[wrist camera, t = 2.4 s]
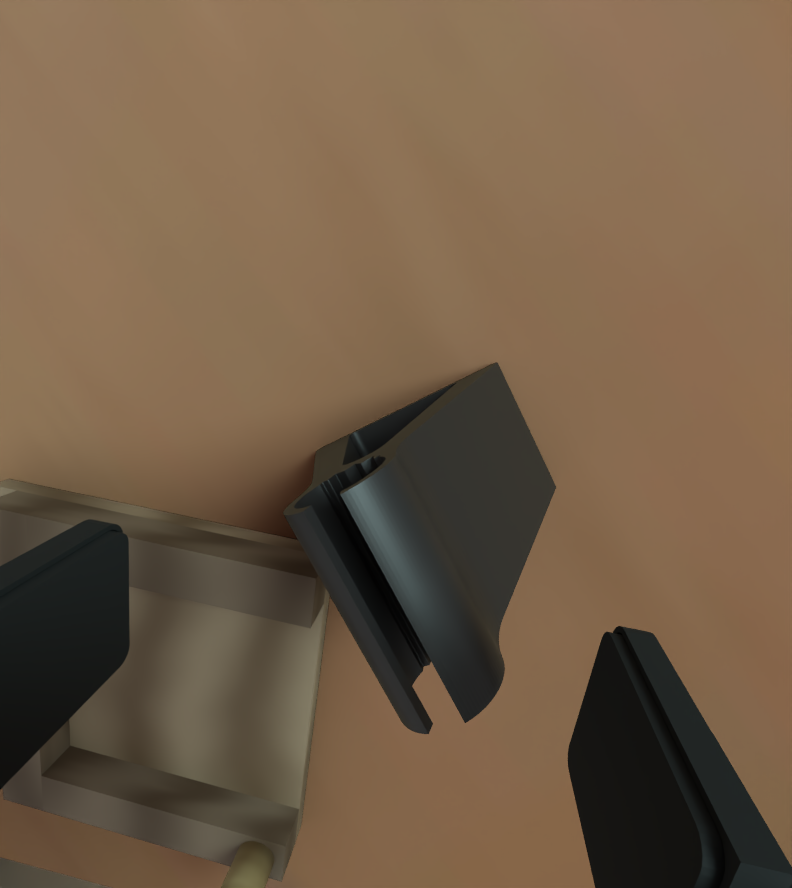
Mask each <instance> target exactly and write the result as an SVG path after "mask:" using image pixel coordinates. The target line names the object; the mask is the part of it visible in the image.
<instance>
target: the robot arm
mask: <svg viewBox="0 0 792 888" xmlns="http://www.w3.org/2000/svg"><path fill="white" fill-rule="evenodd" d="M129 646H130V629H129V540H128V537H127V535H126V534H124V533H123V530H122V529H121V527H120V526H119V525H117V524H113V523H108V522H103V521H98V520H93V519H88V520H85V521H83V522H81V523H79V524H77V525H75V526H73V527H72V528H70V529H68V530H66V531H64V532H62V533H60V534H59V535H57V536H55V537H53V538H51V539H49V540H48V541H46V542H44V543H42V544H40V545H38V546H37V547H35V548H33V549H31V550H29V551H27V552H26V553H24V554H22V555H20V556H18V557H16V558H14V559H13V560H11V561H9V562H7V563H5V564H3V565H2V566H0V789H1V788H2V787H3V786H4V785H5V784H6V783H7V782H8V781H9V780H10V779H11V778H12V777H13V776H14V775H15V774H16V773H17V772H18V771H19V770H20V769H21V768H22V767H23V766H24V765H25V764H26V763H27V762H28V761H29V760H30V759H31V758H32V757H33V756H34V755H35V754H36V753H37V752H38V750H39V749H40V748H41V747H42V746H43V745H44V744H45V743H46V742H47V741H48V740H49V739H50V738H51V737H52V736H53V735H54V734H55V733H56V732H57V731H58V730H59V729H60V728H61V727H62V726H63V725H64V724H65V723H66V722H67V721H68V720H69V719H70V718H71V717H72V716H73V715H74V714H75V713H76V712H77V711H78V710H79V709H80V707H81V706H82V705H83V704H84V703H85V702H86V701H87V700H88V699H89V698H90V697H91V696H92V695H93V694H94V693H95V692H96V691H97V690H98V689H99V688H100V687H101V686H102V685H103V684H104V683H105V682H106V681H107V680H108V679H109V678H110V677H111V676H112V675H113V674H114V673H115V672H116V671H117V670H118V669H119V668H120V666H121V665H122V664H123V663H124V661H125V659H126V657H127V655H128V652H129ZM568 768H569V773H570V778H571V782H572V786H573V791H574V795H575V800H576V804H577V809H578V813H579V817H580V822H581V826H582V831H583V835H584V840H585V844H586V848H587V853H588V857H589V862H590V866H591V870H592V875H593V879H594V884H595V888H792V867H791V865H790V864H789V862H788V860H787V858H786V857H785V855H784V853H783V852H782V850H781V848H780V847H779V845H778V843H777V841H776V840H775V838H774V836H773V835H772V833H771V831H770V830H769V828H768V826H767V824H766V823H765V821H764V819H763V818H762V816H761V814H760V813H759V811H758V809H757V807H756V806H755V804H754V802H753V801H752V799H751V797H750V796H749V794H748V792H747V790H746V789H745V787H744V785H743V784H742V782H741V780H740V779H739V777H738V775H737V773H736V772H735V770H734V768H733V767H732V765H731V763H730V762H729V760H728V758H727V757H726V755H725V753H724V751H723V750H722V748H721V746H720V745H719V743H718V741H717V740H716V738H715V736H714V734H713V733H712V732H711V730H710V729H709V727H708V725H707V724H706V722H705V720H704V718H703V717H702V715H701V713H700V712H699V710H698V708H697V707H696V705H695V703H694V701H693V700H692V698H691V696H690V695H689V693H688V691H687V690H686V688H685V686H684V684H683V683H682V681H681V679H680V678H679V676H678V674H677V673H676V671H675V669H674V667H673V666H672V664H671V662H670V661H669V659H668V657H667V655H666V654H665V652H664V650H663V649H662V647H661V645H660V644H659V642H658V640H657V638H656V637H655V636H654V634H653V633H650V632H646V631H641V630H636V629H631V628H626V627H621V626H618V627H616V629H615V630H614V631H613V633H610V632H606V633H605V634H604V635H603V637H602V640H601V643H600V646H599V650H598V653H597V656H596V659H595V663H594V666H593V669H592V673H591V676H590V679H589V682H588V686H587V689H586V692H585V696H584V699H583V702H582V705H581V709H580V712H579V715H578V719H577V722H576V725H575V728H574V732H573V735H572V738H571V742H570V745H569V750H568ZM0 888H111V887H107V886H104V885H100V884H96V883H93V882H89V881H85V880H82V879H78V878H75V877H71V876H67V875H64V874H60V873H56V872H53V871H49V870H45V869H41V868H38V867H34V866H30V865H27V864H23V863H19V862H15V861H12V860H8V859H4V858H1V857H0Z"/></svg>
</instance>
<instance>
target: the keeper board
mask: <svg viewBox="0 0 792 888" xmlns="http://www.w3.org/2000/svg"><path fill="white" fill-rule="evenodd" d="M88 519H93V520H98V521H103V522H108V523H113V524H117V525H119V526H120V527H121V529H122V530H123V533H124V534H126V535H127V537H128V540H129V629H130V646H129V652H128V655H127V657H126V659H125V661H124V663H123V664H122V665H121V666H120V668H119V669H118V670H117V671H116V672H115V673H114V674H113V675H112V676H111V677H110V678H109V679H108V680H107V681H106V682H105V683H104V684H103V685H102V686H101V687H100V688H99V689H98V690H97V691H96V692H95V693H94V694H93V695H92V696H91V697H90V698H89V699H88V700H87V701H86V702H85V703H84V704H83V705H82V706H81V707H80V709H79V710H78V711H77V712H76V713H75V714H74V715H73V716H72V717H71V718H70V719H69V720H68V721H67V722H66V723H65V724H64V725H63V726H62V727H61V728H60V729H59V730H58V731H57V732H56V733H55V734H54V735H53V736H52V737H51V738H50V739H49V740H48V741H47V742H46V743H45V744H44V745H43V746H42V747H41V748H40V749H39V750H38V752H37V753H36V754H35V755H34V756H33V757H32V758H31V759H30V760H29V761H28V762H27V763H26V764H25V765H24V766H23V767H22V768H21V769H20V770H19V771H18V772H17V773H16V774H15V775H14V776H13V777H12V778H11V779H10V780H9V781H8V782H7V783H6V784H5V785H4V786H3V799H5V800H8V801H12V802H15V803H18V804H22V805H25V806H28V807H32V808H35V809H39V810H42V811H45V812H49V813H52V814H55V815H59V816H62V817H66V818H69V819H72V820H76V821H79V822H82V823H86V824H89V825H92V826H96V827H99V828H103V829H106V830H109V831H113V832H116V833H119V834H123V835H126V836H130V837H133V838H136V839H140V840H143V841H146V842H150V843H153V844H156V845H160V846H163V847H167V848H170V849H173V850H177V851H180V852H183V853H187V854H190V855H194V856H197V857H200V858H204V859H207V860H210V861H214V862H217V863H220V864H224V865H227V866H231V867H230V869H229V871H228V873H227V875H226V878H225V880H224V882H223V884H222V886H221V888H265V886H266V884H267V881H268V878H271V879H274V880H278V881H281V882H282V879H283V876H284V873H285V870H286V867H287V865H288V862H289V859H290V856H291V853H292V850H293V847H294V845H295V842H296V839H297V836H298V833H299V830H300V827H301V823H302V815H303V806H304V798H305V790H306V782H307V774H308V766H309V758H310V750H311V742H312V734H313V726H314V718H315V709H316V701H317V693H318V685H319V677H320V669H321V661H322V653H323V645H324V637H325V629H326V620H327V612H328V604H329V596H330V595H329V593H328V591H327V590H326V588H325V586H324V584H323V583H322V581H321V579H320V577H319V576H318V574H317V572H316V570H315V569H314V567H313V565H312V563H311V562H310V560H309V558H308V556H307V555H306V553H305V551H304V549H303V547H302V546H301V544H300V542H299V540H296V539H291V538H287V537H282V536H277V535H272V534H268V533H263V532H258V531H253V530H249V529H244V528H239V527H234V526H230V525H225V524H220V523H215V522H211V521H206V520H201V519H197V518H192V517H187V516H182V515H178V514H173V513H168V512H163V511H159V510H154V509H149V508H144V507H140V506H135V505H130V504H125V503H121V502H116V501H111V500H106V499H102V498H97V497H92V496H87V495H83V494H78V493H73V492H68V491H64V490H59V489H54V488H49V487H45V486H40V485H35V484H30V483H26V482H21V481H16V480H12V479H7V480H4V481H1V482H0V566H2V565H3V564H5V563H7V562H9V561H11V560H13V559H14V558H16V557H18V556H20V555H22V554H24V553H26V552H27V551H29V550H31V549H33V548H35V547H37V546H38V545H40V544H42V543H44V542H46V541H48V540H49V539H51V538H53V537H55V536H57V535H59V534H60V533H62V532H64V531H66V530H68V529H70V528H72V527H73V526H75V525H77V524H79V523H81V522H83V521H85V520H88Z"/></svg>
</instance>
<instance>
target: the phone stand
mask: <svg viewBox="0 0 792 888" xmlns="http://www.w3.org/2000/svg"><path fill="white" fill-rule="evenodd" d="M555 489H556V486H555V484H554V481H553V479H552V477H551V475H550V473H549V471H548V469H547V467H546V464H545V462H544V460H543V458H542V456H541V454H540V452H539V450H538V447H537V445H536V443H535V441H534V439H533V437H532V435H531V433H530V430H529V428H528V426H527V424H526V422H525V420H524V418H523V416H522V414H521V411H520V409H519V407H518V405H517V403H516V401H515V399H514V397H513V394H512V392H511V390H510V388H509V386H508V384H507V382H506V380H505V377H504V375H503V373H502V371H501V369H500V367H499V365H498V363H497V362H496V363H493V364H491V365H489V366H487V367H485V368H483V369H481V370H479V371H477V372H475V373H473V374H471V375H469V376H467V377H465V378H463V379H461V380H459V381H456V382H454V383H452V384H450V385H448V386H446V387H444V388H442V389H440V390H438V391H436V392H434V393H432V394H430V395H428V396H426V397H424V398H422V399H420V400H418V401H416V402H414V403H412V404H410V405H408V406H406V407H404V408H402V409H399V410H397V411H395V412H393V413H391V414H389V415H387V416H385V417H383V418H381V419H379V420H377V421H375V422H373V423H371V424H369V425H367V426H365V427H363V428H361V429H359V430H357V431H355V432H353V433H351V434H349V435H346V436H344V437H342V438H340V439H338V440H336V441H334V442H332V443H330V444H328V445H326V446H324V447H322V448H320V449H319V450H317V451H316V455H315V464H314V472H313V480H312V483H311V485H310V486H309V487H308V489H307V490H306V491H305V492H304V493H302V494H301V495H300V496H299V497H298V498H297V499H295V500H294V501H293V502H292V503H291V504H290V505H289V506H288V507H287V508H286V509H285V510H284V512H283V514H284V516H285V518H286V519H287V521H288V523H289V525H290V526H291V528H292V530H293V532H294V533H295V535H296V537H297V539H298V540H299V542H300V544H301V546H302V547H303V549H304V551H305V553H306V555H307V556H308V558H309V560H310V562H311V563H312V565H313V567H314V569H315V570H316V572H317V574H318V576H319V577H320V579H321V581H322V583H323V584H324V586H325V588H326V590H327V591H328V593H329V595H330V597H331V598H332V600H333V602H334V604H335V605H336V607H337V609H338V611H339V613H340V614H341V616H342V618H343V620H344V621H345V623H346V625H347V627H348V628H349V630H350V632H351V634H352V635H353V637H354V639H355V641H356V642H357V644H358V646H359V648H360V649H361V651H362V653H363V655H364V656H365V658H366V660H367V662H368V664H369V665H370V667H371V669H372V671H373V672H374V674H375V676H376V678H377V679H378V681H379V683H380V685H381V686H382V688H383V690H384V692H385V693H386V695H387V697H388V699H389V700H390V702H391V704H392V706H393V707H394V709H395V711H396V713H397V714H398V716H399V718H400V720H401V722H402V723H403V724H404V725H405V726H406V727H407V728H408V729H410V730H412V731H414V732H417V733H422V734H429V732H430V729H431V727H432V725H433V723H432V721H431V719H430V718H429V716H428V714H427V712H426V710H425V709H424V707H423V705H422V703H421V701H420V700H419V698H418V696H417V694H416V692H415V691H414V689H413V687H412V685H413V683H414V681H415V680H416V678H417V677H418V676H419V675H420V674H421V672H422V671H423V667H424V666H427V665H430V662H431V661H432V663H433V665H434V667H435V669H436V671H437V672H438V674H439V676H440V678H441V680H442V682H443V683H444V685H445V687H446V689H447V691H448V693H449V694H450V696H451V698H452V700H453V702H454V704H455V705H456V707H457V709H458V711H459V713H460V715H461V716H462V718H463V720H464V722H465V723H466V722H468V721H469V720H471V719H472V718H474V717H475V716H476V715H477V714H479V713H480V712H481V711H482V710H483V709H484V708H485V707H486V706H487V705H488V704H489V703H490V702H491V700H492V699H493V698H494V696H495V695H496V693H497V692H498V690H499V688H500V686H501V683H502V680H503V677H504V670H505V667H504V661H503V658H502V655H501V652H500V648H499V630H500V625H501V622H502V619H503V616H504V614H505V611H506V609H507V607H508V604H509V602H510V599H511V597H512V594H513V592H514V589H515V587H516V584H517V582H518V580H519V577H520V575H521V572H522V570H523V567H524V565H525V562H526V560H527V557H528V555H529V553H530V550H531V548H532V545H533V543H534V540H535V538H536V535H537V533H538V530H539V528H540V525H541V523H542V521H543V518H544V516H545V513H546V511H547V508H548V506H549V503H550V501H551V498H552V496H553V494H554V491H555Z"/></svg>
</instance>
